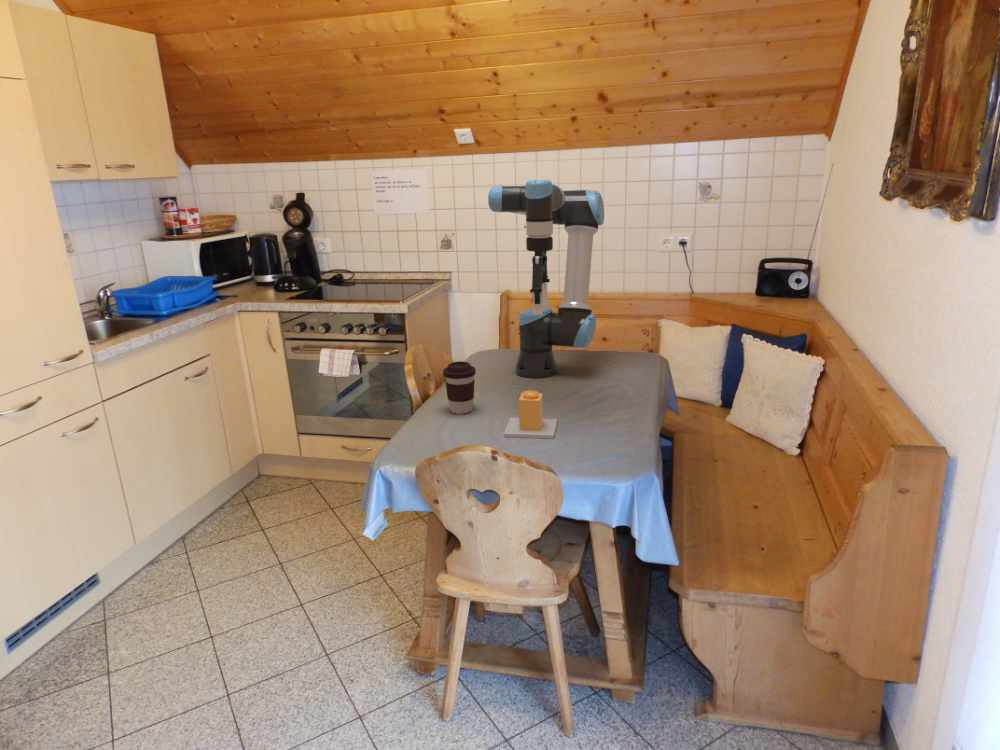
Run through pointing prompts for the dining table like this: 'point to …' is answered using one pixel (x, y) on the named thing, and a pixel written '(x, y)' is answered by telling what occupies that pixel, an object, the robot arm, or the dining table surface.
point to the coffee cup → (460, 386)
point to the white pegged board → (546, 430)
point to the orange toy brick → (530, 410)
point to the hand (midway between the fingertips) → (540, 309)
